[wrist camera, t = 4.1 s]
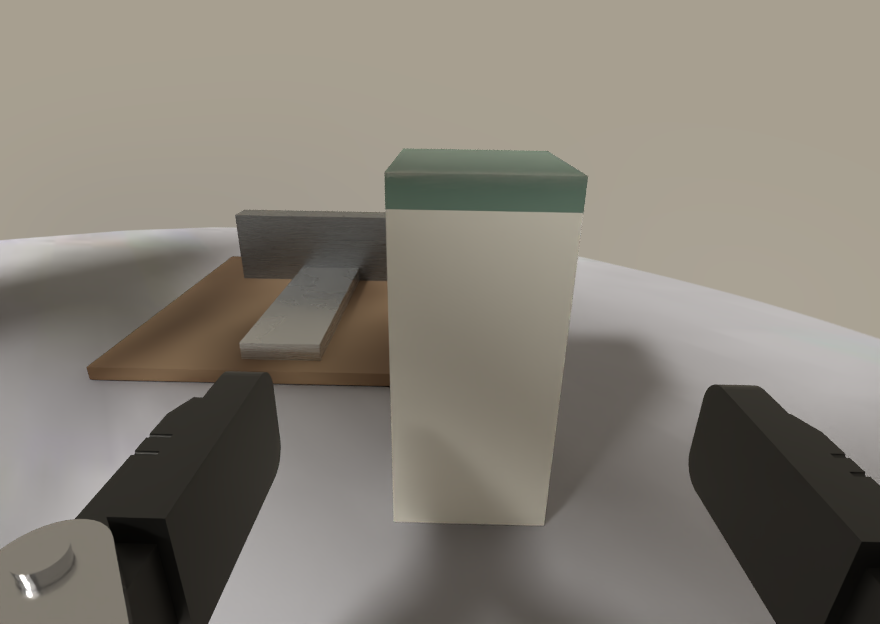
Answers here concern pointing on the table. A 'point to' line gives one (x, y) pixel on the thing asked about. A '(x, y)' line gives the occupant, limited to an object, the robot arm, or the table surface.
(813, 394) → the table surface
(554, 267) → the block
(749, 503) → the robot arm
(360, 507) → the table surface
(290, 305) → the rail
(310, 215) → the block
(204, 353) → the mounting board
